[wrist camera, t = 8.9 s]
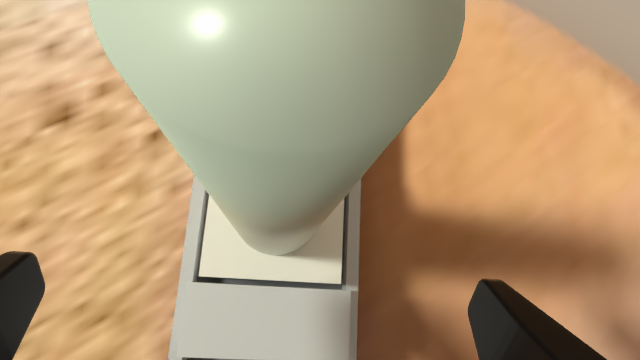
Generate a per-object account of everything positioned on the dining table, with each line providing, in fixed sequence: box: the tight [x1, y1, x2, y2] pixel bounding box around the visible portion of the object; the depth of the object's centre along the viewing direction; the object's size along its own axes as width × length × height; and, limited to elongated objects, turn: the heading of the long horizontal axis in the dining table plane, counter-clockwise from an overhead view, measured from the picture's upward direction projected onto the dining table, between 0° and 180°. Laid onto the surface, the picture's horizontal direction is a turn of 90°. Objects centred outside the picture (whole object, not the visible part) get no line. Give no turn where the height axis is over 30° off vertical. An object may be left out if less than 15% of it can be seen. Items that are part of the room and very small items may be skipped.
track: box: [168, 175, 361, 360], centre depth 17 cm, size 20×7×4 cm, turn 177°
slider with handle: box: [88, 0, 465, 284], centre depth 10 cm, size 5×5×14 cm
